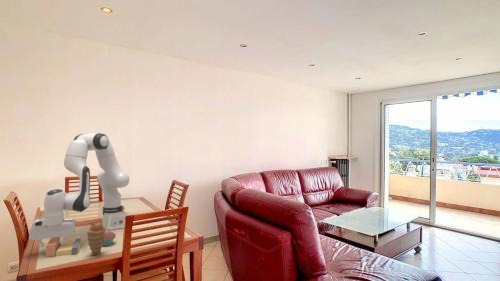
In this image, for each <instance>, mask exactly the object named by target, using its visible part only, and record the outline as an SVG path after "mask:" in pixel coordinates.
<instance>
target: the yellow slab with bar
mask: <svg viewBox="0 0 500 281" xmlns="http://www.w3.org/2000/svg"><path fill="white" fill-rule="evenodd" d="M81 240H82V238H81V237H79V238H75V240H74V241H68V242H67V241H65V244H63V245H61V242H60V245H59V246H58V248H57V250H56V255H55V257H58V256H59V257H60V256H67V255H71V256H75V255H77V254H78V253H79V251H80V249H81V246H82V241H81Z"/></svg>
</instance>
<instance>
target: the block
mask: <svg viewBox="0 0 500 281" xmlns="http://www.w3.org/2000/svg"><path fill="white" fill-rule="evenodd" d="M60 243H61V237H54V238H49V241H48V242H47V243H46V245H45V258H48V257H50V258H51V257H56V250H57V248H58V246H59V245H60Z"/></svg>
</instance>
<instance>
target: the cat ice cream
mask: <svg viewBox="0 0 500 281" xmlns="http://www.w3.org/2000/svg"><path fill="white" fill-rule="evenodd" d="M102 222H103V220H102V219H101V220H100V221H98V222H95V221H93V222H91V226H90V228H89V230H88V231H87V233H86V235H87V236H88V237H87V241H88V246H89V248H90V251H91V252H90V253H91V255H95V256H96V255H98V254H100V253H101V251H102V248H103V246H104V245H103V243H104V240H105V232H106V229H105V228H104V227H103V224H102Z"/></svg>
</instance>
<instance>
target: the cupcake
mask: <svg viewBox="0 0 500 281" xmlns="http://www.w3.org/2000/svg"><path fill="white" fill-rule="evenodd" d="M116 236H117V235H116V233H114V232H113V231H109V230H108V224H107V229H106V231H105V240H104V243H103V246H104V247H107V246H111V245H112V244H113V241H114V239H116Z"/></svg>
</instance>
